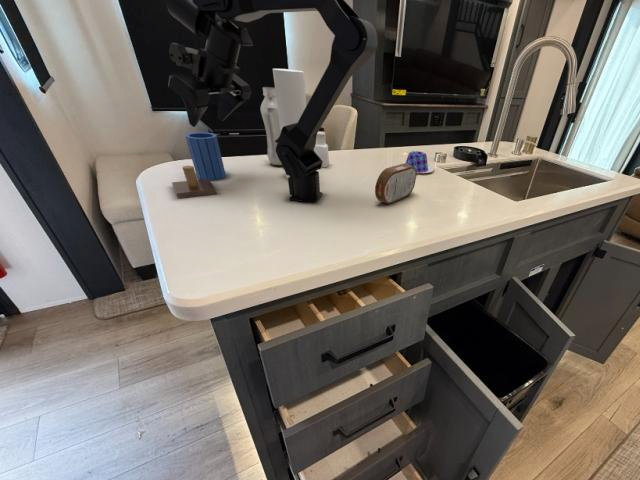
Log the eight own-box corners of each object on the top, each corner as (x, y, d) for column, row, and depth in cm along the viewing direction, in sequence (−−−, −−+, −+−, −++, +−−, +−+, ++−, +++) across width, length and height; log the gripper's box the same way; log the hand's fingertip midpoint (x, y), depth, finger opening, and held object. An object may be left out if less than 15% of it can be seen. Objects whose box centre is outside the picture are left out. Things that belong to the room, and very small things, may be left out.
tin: (407, 191, 91) (410, 159, 86) (416, 194, 89) (420, 162, 84) (373, 205, 80) (374, 170, 75) (383, 208, 79) (385, 173, 74)
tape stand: (209, 183, 82) (203, 160, 79) (216, 194, 77) (210, 170, 74) (173, 187, 78) (165, 163, 75) (178, 198, 73) (169, 173, 70)
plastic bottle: (277, 169, 96) (267, 89, 84) (264, 163, 99) (251, 86, 87) (295, 165, 100) (287, 89, 88) (281, 160, 103) (272, 86, 91)
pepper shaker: (326, 168, 101) (325, 134, 95) (314, 166, 101) (311, 133, 95) (329, 164, 104) (327, 132, 99) (316, 163, 104) (314, 130, 98)
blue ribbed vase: (230, 174, 89) (221, 134, 83) (217, 181, 84) (206, 139, 78) (206, 171, 89) (195, 131, 83) (191, 178, 84) (179, 136, 78)
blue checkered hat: (416, 162, 115) (417, 147, 112) (441, 172, 109) (443, 155, 106) (391, 167, 109) (392, 150, 105) (416, 177, 102) (418, 159, 99)
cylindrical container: (317, 177, 94) (310, 72, 78) (298, 182, 89) (287, 71, 73) (299, 171, 96) (289, 69, 81) (280, 176, 91) (266, 68, 76)
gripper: (217, 29, 72) (204, 96, 82) (145, 20, 58) (139, 102, 67) (261, 64, 74) (243, 125, 83) (201, 64, 60) (188, 138, 69)
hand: (206, 122), depth 76 cm, fingers open, 9 cm apart
